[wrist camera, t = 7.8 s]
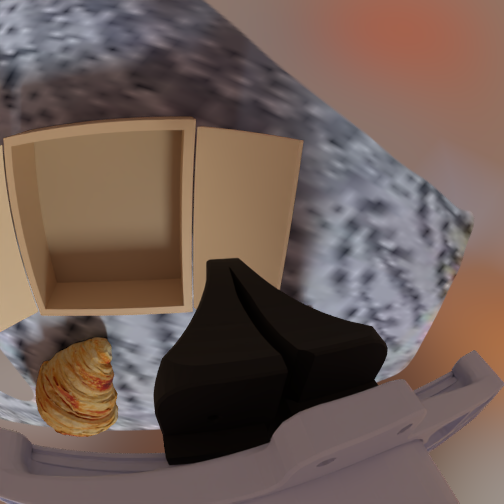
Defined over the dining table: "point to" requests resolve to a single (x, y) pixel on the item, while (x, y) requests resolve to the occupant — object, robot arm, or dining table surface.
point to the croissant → (78, 389)
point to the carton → (105, 214)
